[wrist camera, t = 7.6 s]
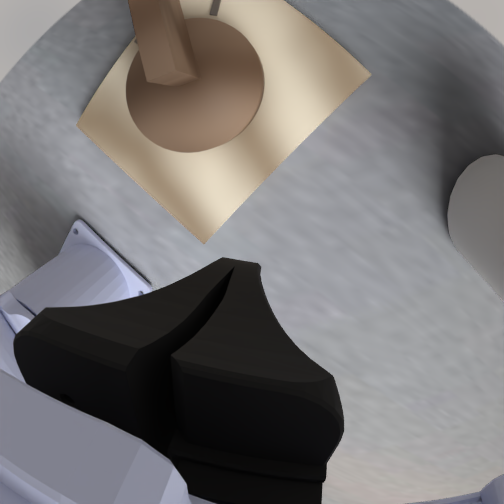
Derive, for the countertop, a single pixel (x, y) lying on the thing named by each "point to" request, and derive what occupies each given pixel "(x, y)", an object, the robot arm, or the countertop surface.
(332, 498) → the countertop surface
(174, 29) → the dial
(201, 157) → the dial plate
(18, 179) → the countertop surface
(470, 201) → the can
